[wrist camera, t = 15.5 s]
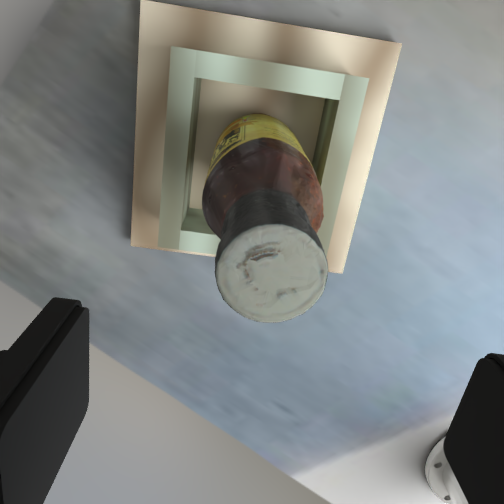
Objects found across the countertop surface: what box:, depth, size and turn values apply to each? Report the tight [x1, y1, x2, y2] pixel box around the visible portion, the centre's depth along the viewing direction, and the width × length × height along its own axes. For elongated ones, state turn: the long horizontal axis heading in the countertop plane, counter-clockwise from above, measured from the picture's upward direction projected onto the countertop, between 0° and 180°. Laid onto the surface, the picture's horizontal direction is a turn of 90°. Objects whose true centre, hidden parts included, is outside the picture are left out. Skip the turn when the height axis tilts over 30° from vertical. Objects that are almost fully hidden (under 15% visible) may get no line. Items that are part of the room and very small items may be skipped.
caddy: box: [131, 0, 402, 274], centre depth 32 cm, size 18×18×6 cm
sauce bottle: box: [202, 113, 328, 323], centre depth 24 cm, size 7×6×20 cm
